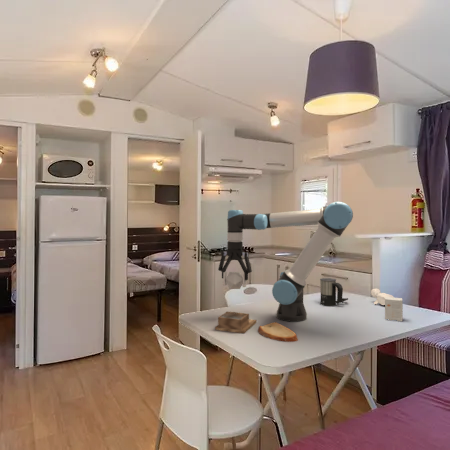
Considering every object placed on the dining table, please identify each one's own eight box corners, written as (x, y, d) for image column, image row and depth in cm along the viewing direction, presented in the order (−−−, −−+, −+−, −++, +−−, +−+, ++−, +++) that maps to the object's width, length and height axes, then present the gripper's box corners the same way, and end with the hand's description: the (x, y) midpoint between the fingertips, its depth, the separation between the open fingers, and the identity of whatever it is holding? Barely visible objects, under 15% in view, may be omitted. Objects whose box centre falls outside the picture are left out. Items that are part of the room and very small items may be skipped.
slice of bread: (297, 343, 152) (297, 334, 152) (253, 340, 156) (253, 331, 156) (299, 330, 170) (299, 321, 169) (259, 327, 174) (259, 319, 174)
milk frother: (317, 304, 216) (317, 279, 216) (326, 299, 229) (327, 275, 229) (341, 308, 208) (342, 282, 208) (350, 303, 221) (350, 278, 220)
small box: (402, 319, 187) (402, 298, 187) (402, 321, 182) (402, 300, 182) (385, 317, 191) (385, 296, 190) (384, 319, 185) (384, 298, 185)
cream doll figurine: (394, 311, 214) (374, 296, 226) (399, 298, 211) (379, 284, 223) (384, 313, 210) (364, 298, 222) (389, 300, 207) (369, 286, 219)
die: (236, 292, 179) (247, 274, 182) (221, 282, 181) (232, 265, 183) (237, 295, 187) (247, 278, 190) (222, 285, 189) (232, 269, 191)
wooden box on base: (256, 322, 180) (256, 310, 180) (244, 333, 164) (244, 320, 164) (229, 319, 186) (229, 307, 185) (215, 329, 169) (215, 317, 169)
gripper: (258, 241, 183) (258, 286, 184) (217, 239, 193) (217, 282, 193) (253, 242, 177) (253, 289, 177) (211, 240, 186) (211, 285, 187)
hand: (234, 285), depth 185 cm, fingers closed on die, 10 cm apart
